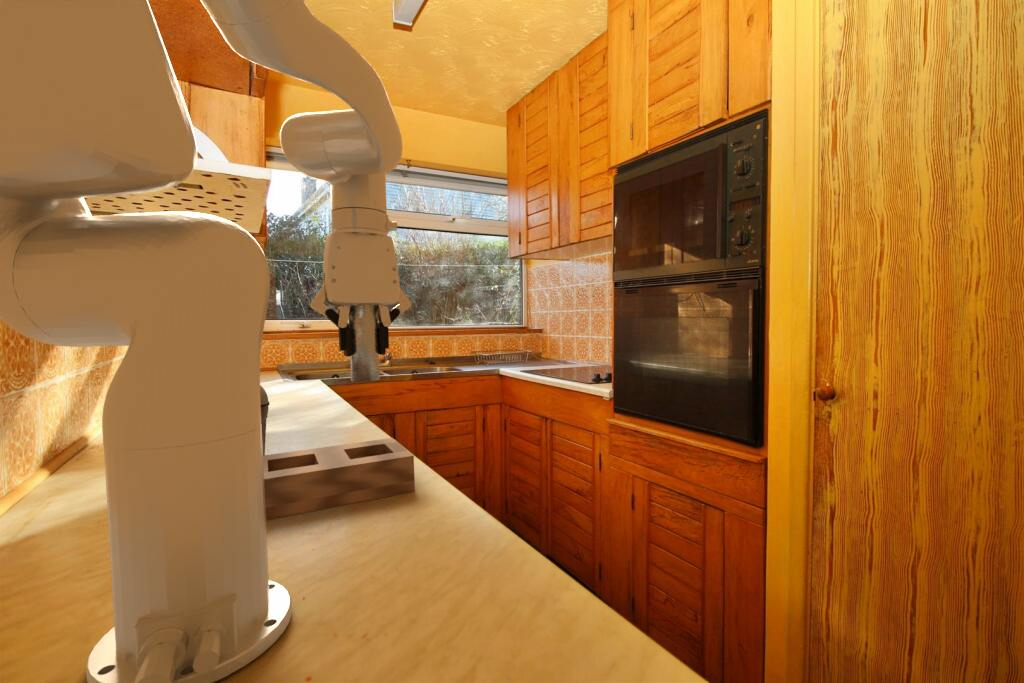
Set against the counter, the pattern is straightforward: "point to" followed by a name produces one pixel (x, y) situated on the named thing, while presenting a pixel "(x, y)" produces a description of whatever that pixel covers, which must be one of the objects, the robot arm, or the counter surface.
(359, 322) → the steel pin
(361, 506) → the counter surface
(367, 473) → the walnut block
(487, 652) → the counter surface
